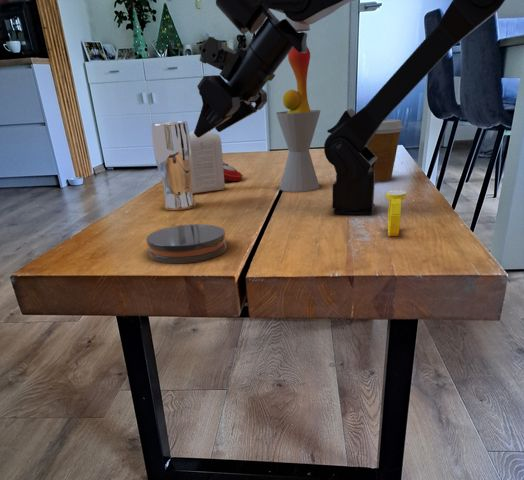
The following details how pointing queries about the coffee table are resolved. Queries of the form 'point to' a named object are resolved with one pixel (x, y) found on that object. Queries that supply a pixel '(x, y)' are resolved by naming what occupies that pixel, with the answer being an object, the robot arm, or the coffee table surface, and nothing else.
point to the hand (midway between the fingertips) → (207, 132)
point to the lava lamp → (298, 125)
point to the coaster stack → (186, 243)
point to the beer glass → (174, 163)
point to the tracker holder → (231, 173)
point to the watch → (394, 211)
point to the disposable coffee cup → (385, 148)
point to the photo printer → (206, 163)
